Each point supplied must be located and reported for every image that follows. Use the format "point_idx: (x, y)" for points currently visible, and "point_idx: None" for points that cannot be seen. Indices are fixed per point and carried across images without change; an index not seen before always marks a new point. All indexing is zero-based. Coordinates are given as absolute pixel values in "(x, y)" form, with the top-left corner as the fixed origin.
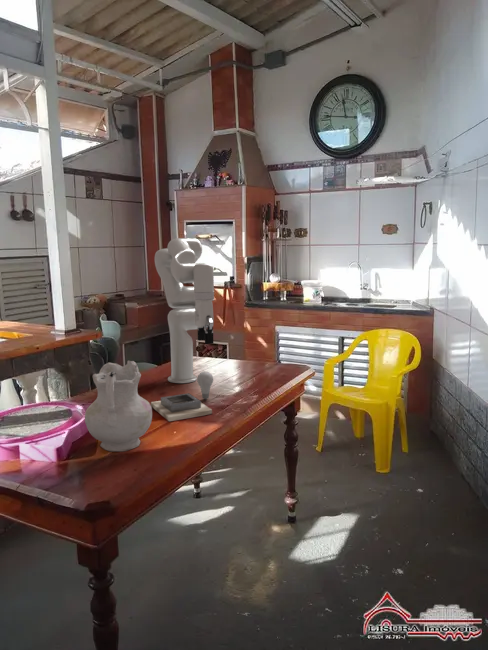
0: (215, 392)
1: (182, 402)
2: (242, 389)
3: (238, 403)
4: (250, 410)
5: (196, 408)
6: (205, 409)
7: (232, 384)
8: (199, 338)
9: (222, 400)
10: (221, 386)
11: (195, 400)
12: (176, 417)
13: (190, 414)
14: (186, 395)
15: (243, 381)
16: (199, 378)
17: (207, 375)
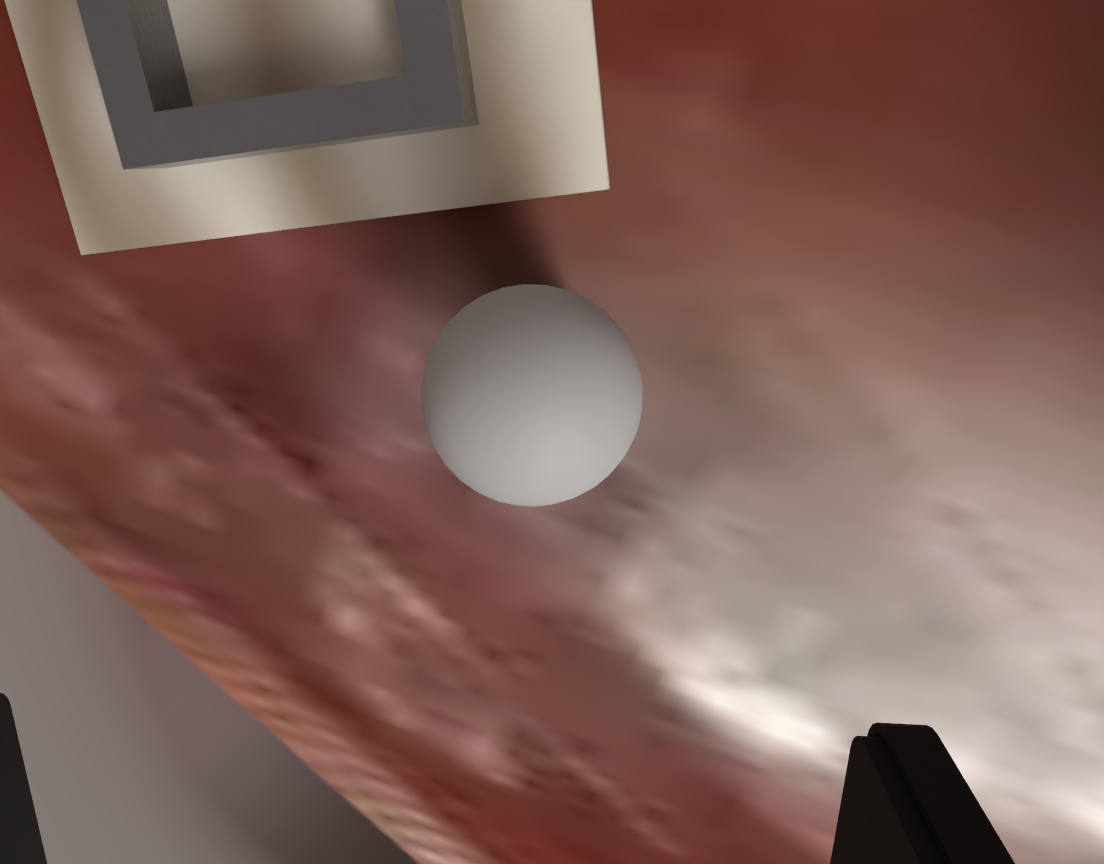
0: (749, 504)
1: (396, 18)
2: (724, 748)
3: (334, 563)
4: (129, 576)
5: None
6: (101, 195)
7: None
8: (872, 803)
9: None
10: (924, 627)
11: (151, 114)
12: None
13: (11, 3)
14: (408, 74)
15: None
16: (480, 306)
17: (436, 424)
